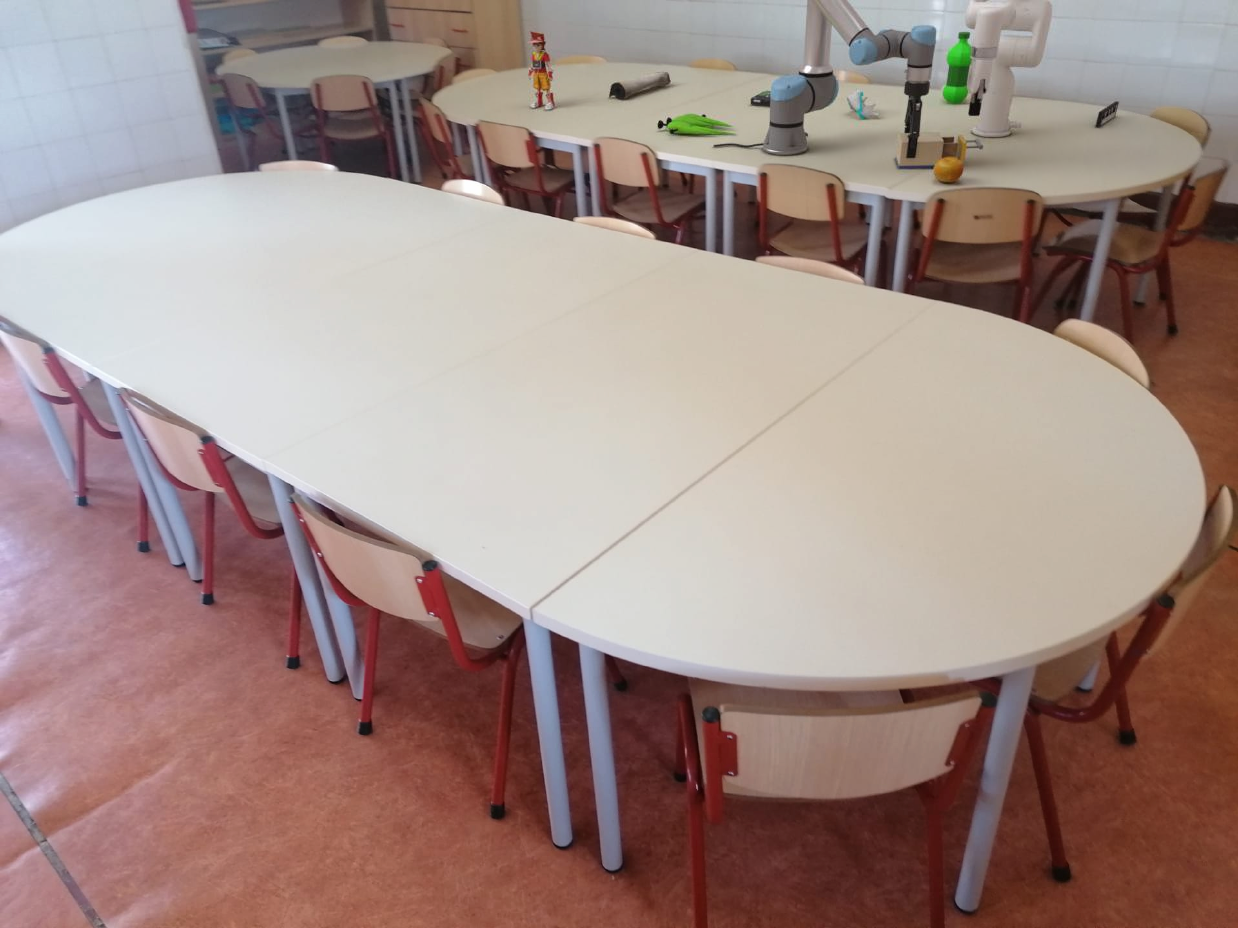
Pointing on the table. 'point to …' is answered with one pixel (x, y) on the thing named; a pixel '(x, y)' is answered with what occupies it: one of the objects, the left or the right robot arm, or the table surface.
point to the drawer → (958, 147)
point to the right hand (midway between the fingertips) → (973, 115)
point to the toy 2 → (692, 125)
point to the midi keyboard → (1107, 113)
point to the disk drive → (761, 99)
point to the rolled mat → (638, 84)
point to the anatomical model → (861, 105)
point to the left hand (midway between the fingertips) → (908, 152)
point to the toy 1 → (541, 71)
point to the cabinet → (920, 150)
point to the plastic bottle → (958, 70)
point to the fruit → (948, 169)
